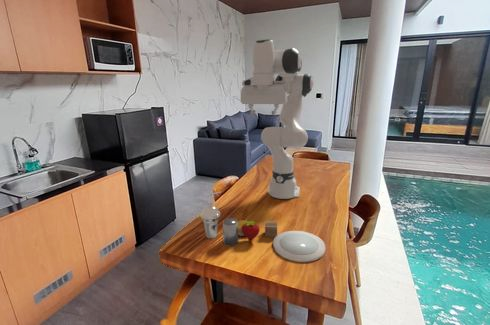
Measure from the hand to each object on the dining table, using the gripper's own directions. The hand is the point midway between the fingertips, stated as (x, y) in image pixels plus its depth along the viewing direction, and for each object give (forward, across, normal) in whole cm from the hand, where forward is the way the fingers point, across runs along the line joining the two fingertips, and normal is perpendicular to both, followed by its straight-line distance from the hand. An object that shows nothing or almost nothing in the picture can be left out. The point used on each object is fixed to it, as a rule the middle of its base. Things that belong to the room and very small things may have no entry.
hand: (263, 115), depth 112 cm
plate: (+50, -21, +15) cm, 56 cm away
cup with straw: (+50, +15, +22) cm, 56 cm away
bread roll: (+50, +7, +13) cm, 52 cm away
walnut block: (+50, -8, +11) cm, 51 cm away
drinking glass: (+50, +5, +23) cm, 55 cm away
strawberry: (+50, -2, +19) cm, 53 cm away
